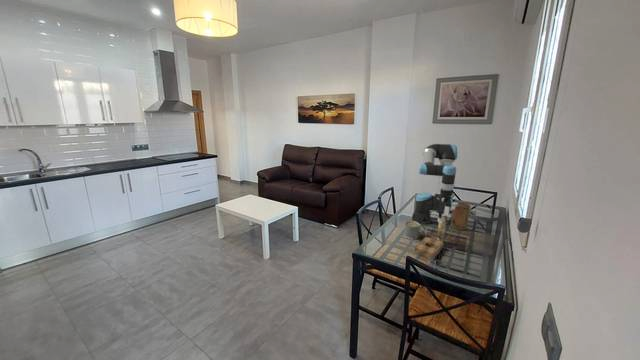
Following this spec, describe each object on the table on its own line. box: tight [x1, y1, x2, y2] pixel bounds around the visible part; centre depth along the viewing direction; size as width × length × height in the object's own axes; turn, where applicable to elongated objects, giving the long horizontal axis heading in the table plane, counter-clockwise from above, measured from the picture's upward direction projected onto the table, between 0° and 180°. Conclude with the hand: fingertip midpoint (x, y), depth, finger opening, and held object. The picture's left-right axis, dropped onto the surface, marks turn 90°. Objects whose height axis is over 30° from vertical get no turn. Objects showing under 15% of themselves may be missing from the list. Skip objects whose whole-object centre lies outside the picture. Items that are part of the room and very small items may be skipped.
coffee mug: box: [403, 220, 425, 240], centre depth 186 cm, size 13×10×10 cm
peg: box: [436, 217, 447, 243], centre depth 177 cm, size 4×4×18 cm
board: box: [414, 236, 444, 261], centre depth 169 cm, size 12×18×4 cm, turn 138°
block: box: [450, 202, 471, 231], centre depth 196 cm, size 11×8×20 cm
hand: (442, 218), depth 174 cm, fingers open, 13 cm apart
